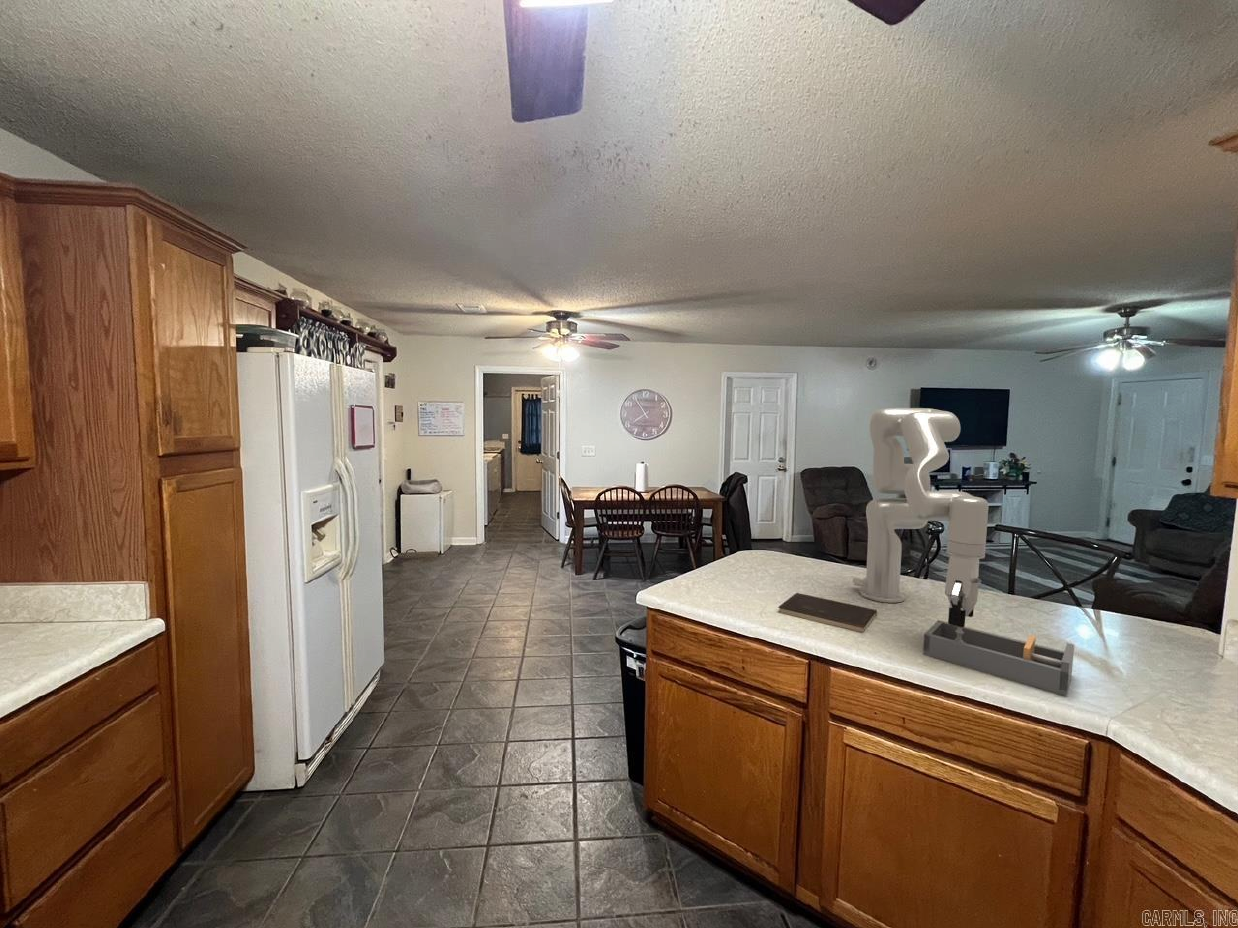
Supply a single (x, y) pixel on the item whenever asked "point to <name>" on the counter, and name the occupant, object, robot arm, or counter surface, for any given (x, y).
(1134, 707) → the counter surface
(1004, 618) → the counter surface
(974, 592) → the chalice
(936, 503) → the robot arm
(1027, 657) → the pusher
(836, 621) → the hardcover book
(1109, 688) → the counter surface
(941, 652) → the tray
